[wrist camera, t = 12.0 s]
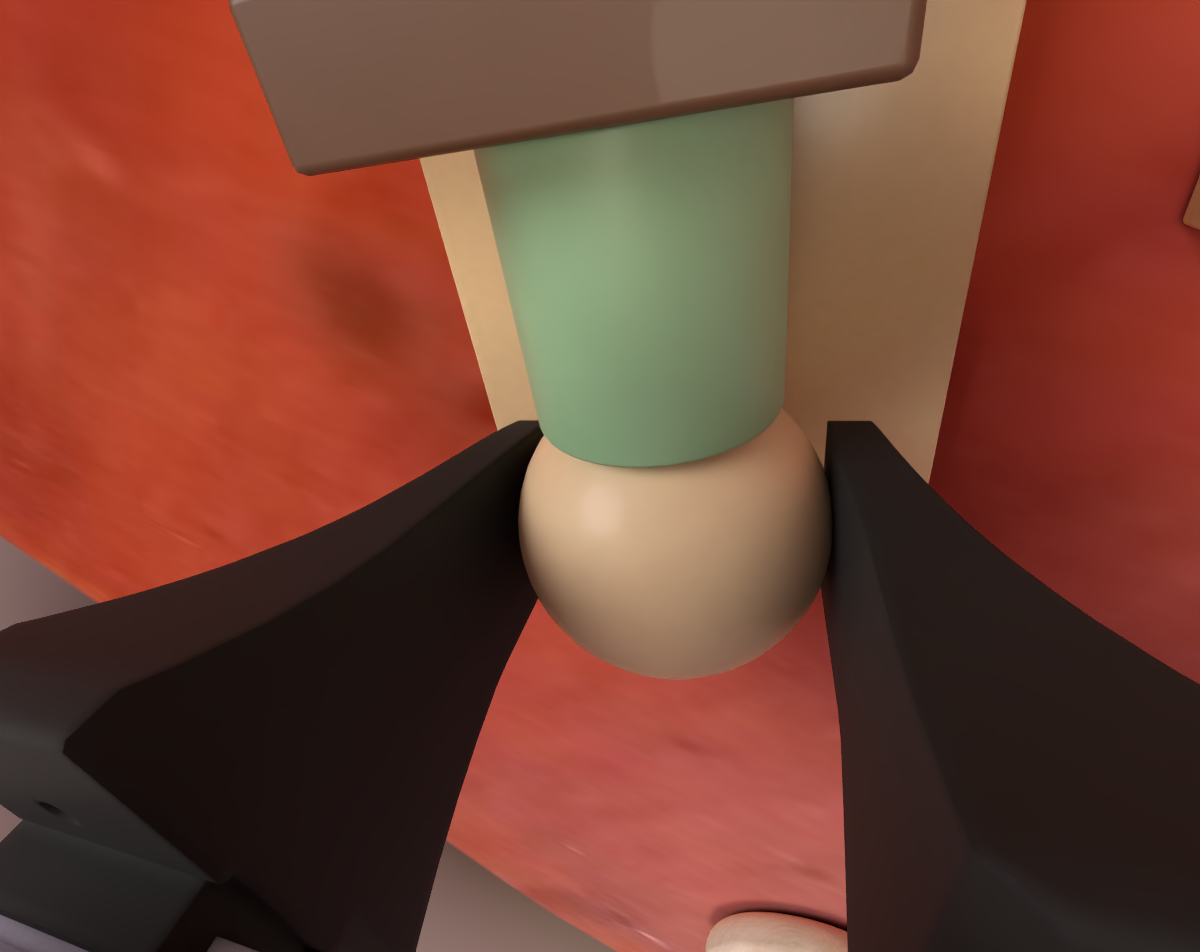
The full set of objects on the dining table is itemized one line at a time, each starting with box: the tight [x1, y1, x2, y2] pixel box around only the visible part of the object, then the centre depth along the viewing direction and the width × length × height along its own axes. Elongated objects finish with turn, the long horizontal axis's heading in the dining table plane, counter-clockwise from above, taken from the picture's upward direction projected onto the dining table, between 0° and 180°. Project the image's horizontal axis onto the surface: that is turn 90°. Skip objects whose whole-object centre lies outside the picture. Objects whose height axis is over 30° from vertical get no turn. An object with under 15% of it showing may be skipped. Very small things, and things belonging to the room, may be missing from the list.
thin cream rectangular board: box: [420, 0, 1027, 484], centre depth 8 cm, size 15×8×2 cm, turn 9°
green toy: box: [229, 0, 927, 680], centre depth 8 cm, size 9×5×5 cm, turn 9°
